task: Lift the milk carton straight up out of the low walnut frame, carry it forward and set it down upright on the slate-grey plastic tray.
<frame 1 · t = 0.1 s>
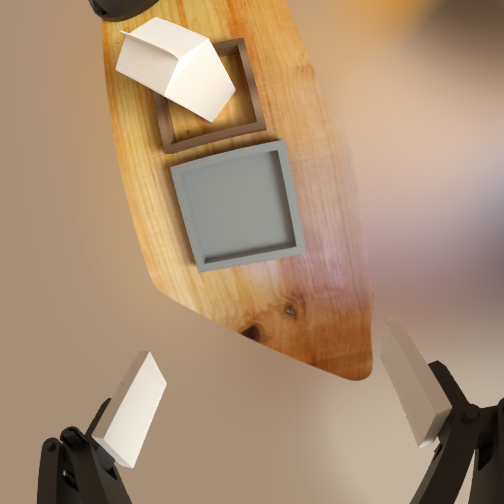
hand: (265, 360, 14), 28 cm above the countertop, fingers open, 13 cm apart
tray: (240, 206, 39), on the countertop
frame: (207, 96, 34), on the countertop
milk: (207, 96, 34), resting in frame
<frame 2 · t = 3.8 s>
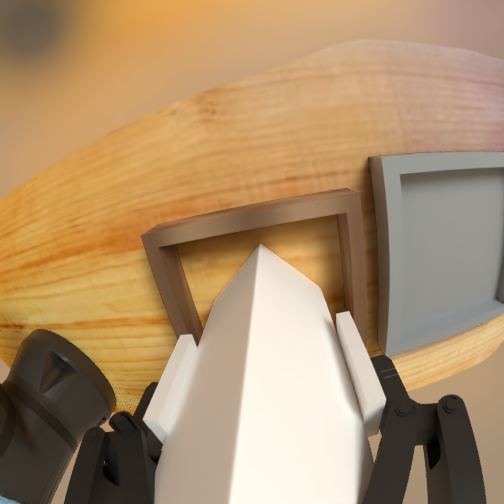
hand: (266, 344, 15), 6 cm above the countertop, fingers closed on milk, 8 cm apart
tray: (455, 244, 19), on the countertop
frame: (267, 294, 21), on the countertop
milk: (267, 292, 21), resting in frame, touching gripper
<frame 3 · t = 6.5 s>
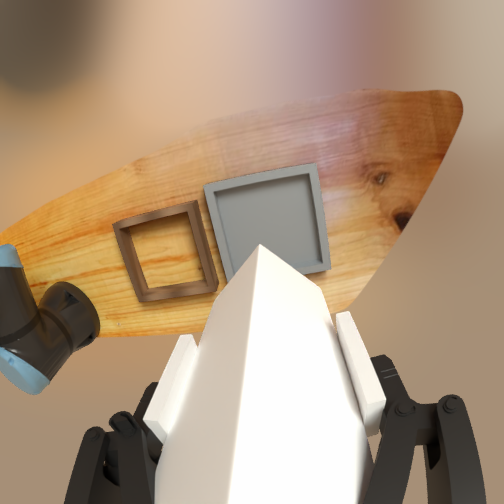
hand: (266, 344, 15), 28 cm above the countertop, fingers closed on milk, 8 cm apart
tray: (270, 224, 41), on the countertop
frame: (168, 251, 44), on the countertop
milk: (267, 293, 21), point 21 cm above the countertop, touching gripper
when the fingers open (8 cm above the countertop, at t = 9.3 s): milk drops 1 cm, resting on tray.
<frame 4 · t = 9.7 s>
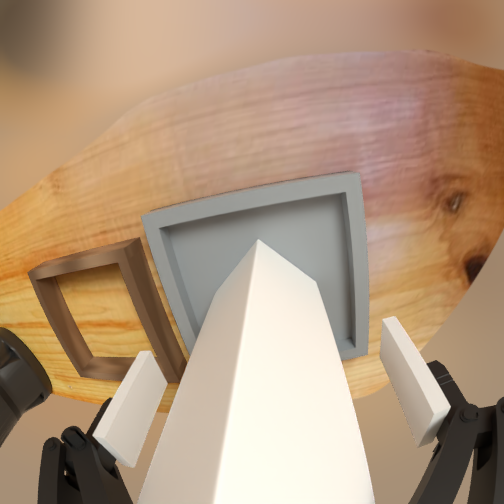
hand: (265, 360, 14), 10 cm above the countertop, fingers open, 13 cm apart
tray: (267, 282, 23), on the countertop
frame: (107, 313, 25), on the countertop
milk: (265, 286, 22), point 1 cm above the countertop, touching tray
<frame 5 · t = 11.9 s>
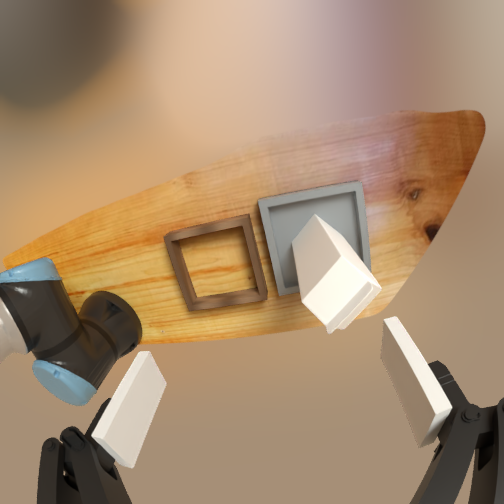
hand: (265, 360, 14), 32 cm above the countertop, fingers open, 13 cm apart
tray: (317, 237, 44), on the countertop
frame: (218, 261, 47), on the countertop
milk: (317, 238, 43), point 1 cm above the countertop, touching tray
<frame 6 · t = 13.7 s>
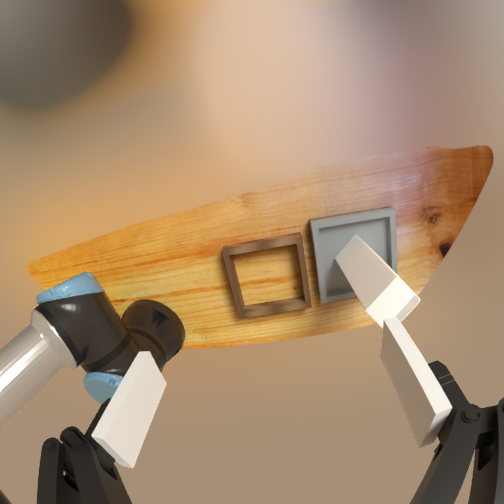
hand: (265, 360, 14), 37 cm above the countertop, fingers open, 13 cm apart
tray: (355, 253, 50), on the countertop
frame: (268, 274, 52), on the countertop
milk: (355, 254, 49), point 1 cm above the countertop, touching tray
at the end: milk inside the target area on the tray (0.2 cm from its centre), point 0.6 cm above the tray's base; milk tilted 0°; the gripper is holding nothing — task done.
